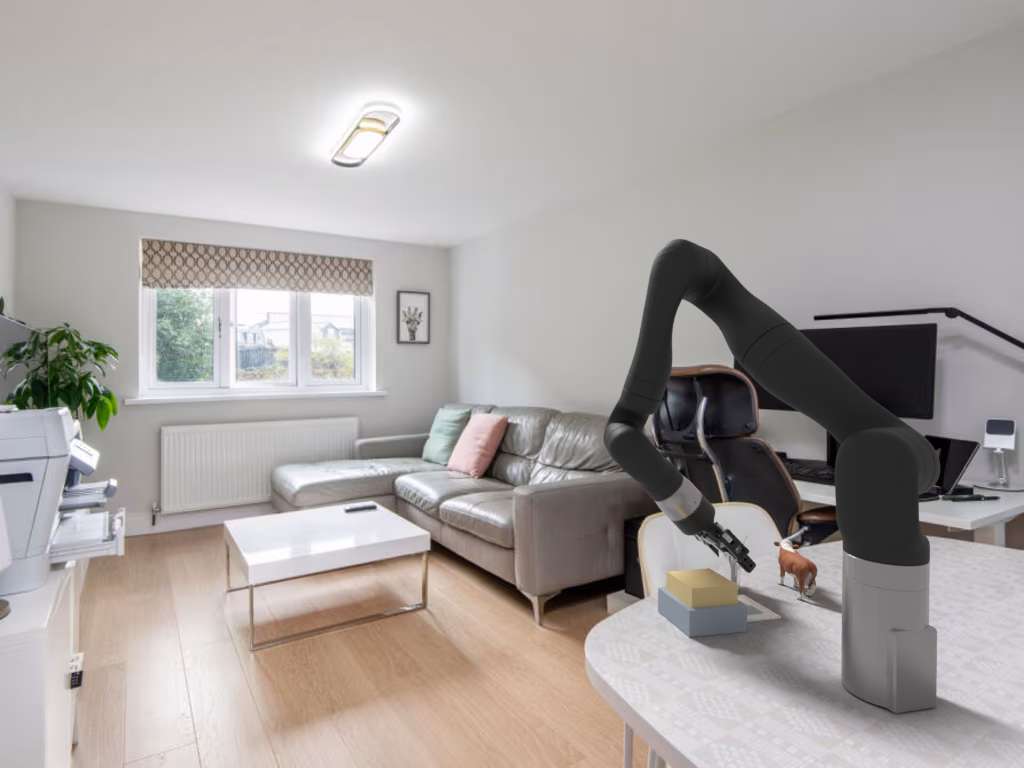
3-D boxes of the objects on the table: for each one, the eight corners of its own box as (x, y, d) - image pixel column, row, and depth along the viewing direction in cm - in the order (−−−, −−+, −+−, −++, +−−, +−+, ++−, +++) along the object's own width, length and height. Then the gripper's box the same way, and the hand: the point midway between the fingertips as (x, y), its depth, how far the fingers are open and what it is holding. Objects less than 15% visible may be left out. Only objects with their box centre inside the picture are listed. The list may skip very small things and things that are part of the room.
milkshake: (751, 592, 106) (752, 538, 106) (722, 592, 106) (722, 538, 106) (742, 584, 110) (742, 532, 110) (714, 583, 110) (714, 531, 110)
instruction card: (781, 618, 94) (781, 616, 94) (743, 622, 93) (743, 620, 93) (743, 596, 104) (743, 594, 104) (708, 599, 102) (708, 597, 102)
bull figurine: (792, 577, 114) (792, 537, 114) (822, 604, 101) (822, 557, 101) (769, 577, 115) (769, 536, 115) (796, 602, 101) (796, 556, 101)
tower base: (747, 631, 89) (747, 586, 89) (689, 637, 87) (689, 591, 87) (710, 606, 99) (711, 566, 99) (658, 611, 97) (658, 570, 97)
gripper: (718, 496, 99) (775, 558, 102) (676, 482, 113) (727, 536, 116) (690, 528, 98) (748, 590, 101) (652, 510, 112) (704, 564, 115)
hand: (737, 561), depth 108 cm, fingers open, 8 cm apart
